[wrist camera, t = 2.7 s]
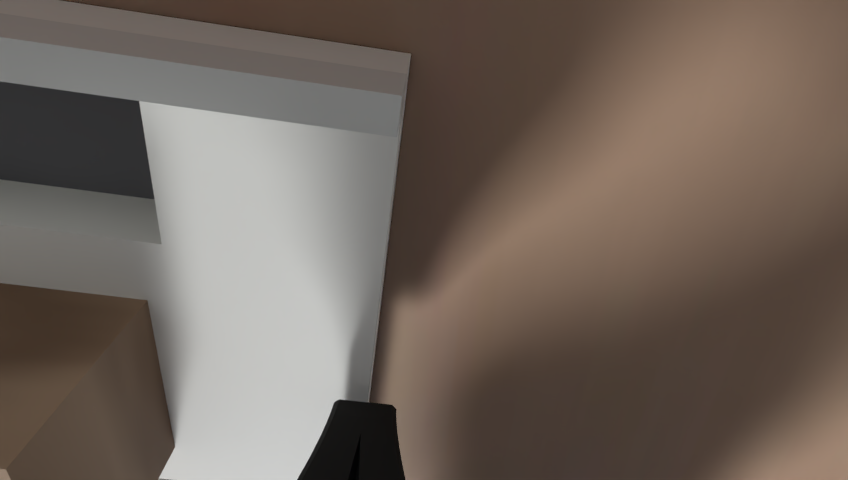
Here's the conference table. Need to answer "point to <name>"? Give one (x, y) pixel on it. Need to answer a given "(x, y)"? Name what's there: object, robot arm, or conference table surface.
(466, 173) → the conference table surface
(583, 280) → the conference table surface
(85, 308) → the walnut block
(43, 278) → the trap board
